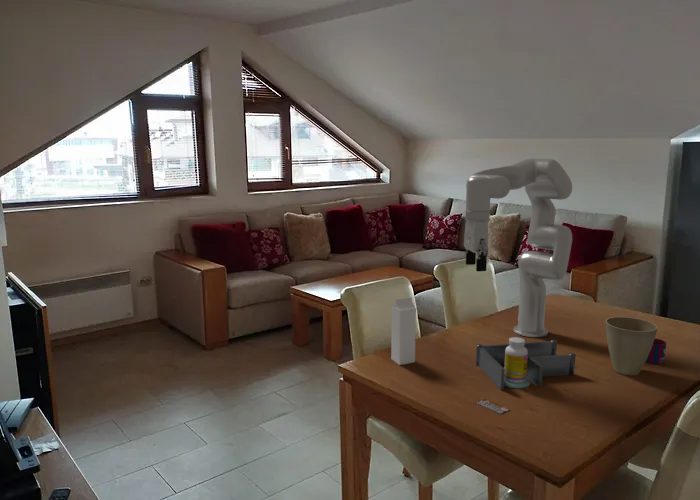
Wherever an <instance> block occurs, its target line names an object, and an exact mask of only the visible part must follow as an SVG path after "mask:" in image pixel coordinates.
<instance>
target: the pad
mask: <svg viewBox="0 0 700 500" xmlns="http://www.w3.org/2000/svg"><path fill="white" fill-rule="evenodd" d="M530 385H531V380H530V379H529V378H528V377H527V376H526V381H524V382H522V383H513V382H509V381H507V380H506V379H505V378H504V387H508V388H509V389H510V388H511V389H525V388H528V387H530Z"/></svg>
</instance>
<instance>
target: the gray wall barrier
mask: <svg viewBox="0 0 700 500" xmlns="http://www.w3.org/2000/svg"><path fill="white" fill-rule="evenodd" d="M509 345H510V344H509V343H502V344H498V343H497V344H484V345H483V344H481V343H479V344H476V350H475V352H476V355H475V365H476V366H477V367H478V368H479V369H480V370H482V372H484V373H485V374H486V376H487V377H488V378H489V379H490V380H491V381H492V383H494V384H495V386H496V387H497V388H498V389H499V390H500V391H504V390H505V386H504V376H505V369H504V368H505V367H503V366H502V365H505V349H506V347H508V346H509ZM557 346H558V340H556V339H550V341H548V340H547V341H534V342H525V345H524V347H525V348H526V349H527V351H528V357H527V376H526V377H527V378H529V379H530V382H532V383H533V384H535V386H536V387H538V388H541V387H542V386H543V378H544V377H545V378H546V377H559V376H575V369H576V355H577V354H576V353H574V352H569V353H568V354H557Z"/></svg>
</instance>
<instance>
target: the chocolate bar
mask: <svg viewBox="0 0 700 500" xmlns="http://www.w3.org/2000/svg"><path fill="white" fill-rule="evenodd" d="M474 404H475V405H478V406H480V407H483V408H484V409H487V410H489V411H491V412H493V413H496V414H498V415H499V416H502V415H504V414H505V415H506V414H508V413H510V412H511V409H509V408H506V407H504V406H501V405H499V404H497V403H495V402H492V401H491V400H489V399H486V398H484V397H483V398H482V399H480V400H478V401H475V402H474Z"/></svg>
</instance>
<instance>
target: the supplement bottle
mask: <svg viewBox="0 0 700 500" xmlns="http://www.w3.org/2000/svg"><path fill="white" fill-rule="evenodd" d="M525 343H526V340H525V339H524V338H523V337H517V336H515V337H510V338H508V344H510V345H509V346H508V347H506V349H505V364H504V367H503V368H504V369H505V376H504V378H505V379H506V380H507V381H509V382H513V383H522V382H524V381H526V377H527V366H528V362H527V357H528V351H527V349H526V348H525V347H524V345H525Z"/></svg>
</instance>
